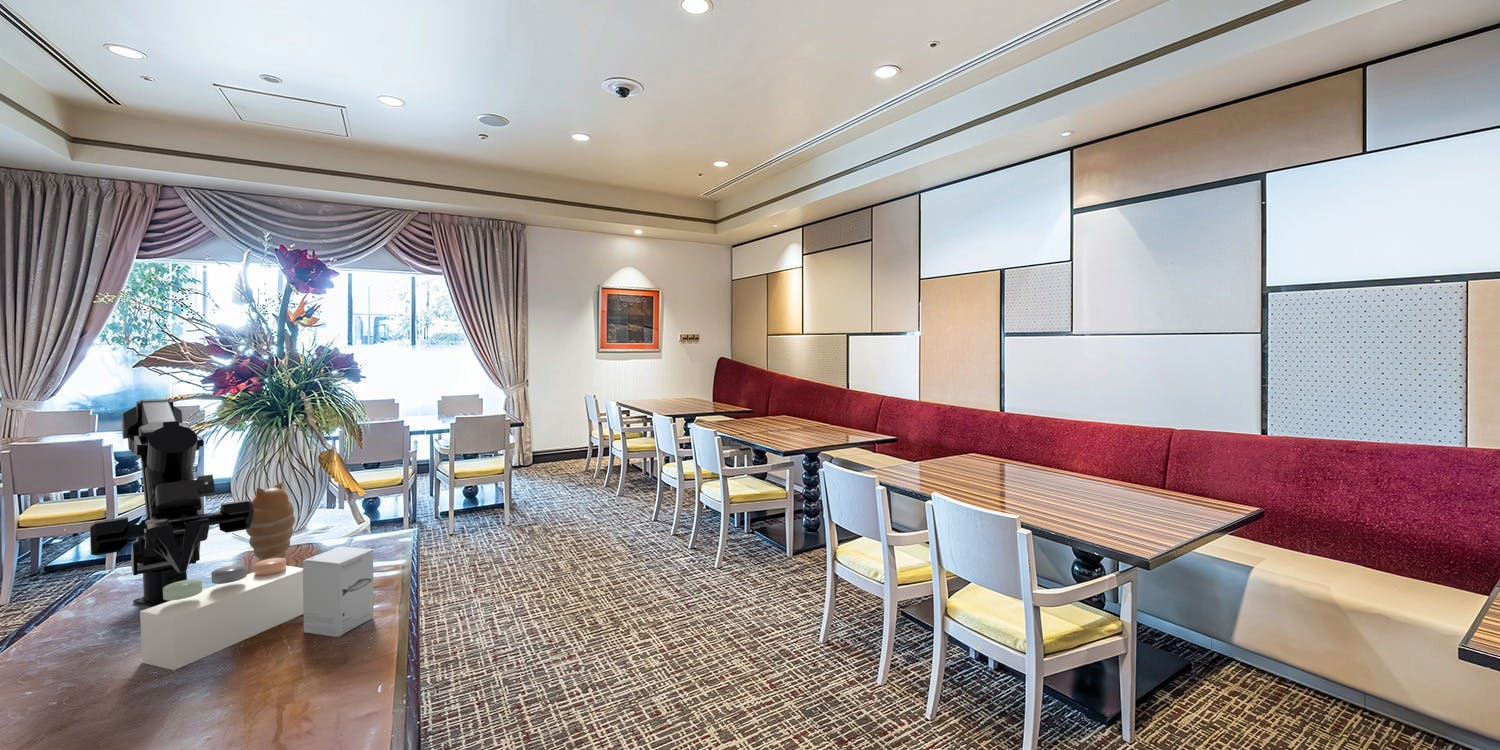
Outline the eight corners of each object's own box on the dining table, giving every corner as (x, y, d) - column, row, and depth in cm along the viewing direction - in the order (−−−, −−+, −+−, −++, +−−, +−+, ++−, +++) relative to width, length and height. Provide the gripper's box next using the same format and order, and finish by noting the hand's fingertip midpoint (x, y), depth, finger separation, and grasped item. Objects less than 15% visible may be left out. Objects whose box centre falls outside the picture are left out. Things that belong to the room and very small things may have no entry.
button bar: (141, 662, 90) (140, 611, 89) (278, 606, 109) (277, 564, 108) (174, 670, 88) (172, 617, 87) (307, 612, 107) (306, 568, 107)
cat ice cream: (277, 559, 132) (275, 479, 131) (306, 562, 130) (304, 481, 129) (235, 574, 123) (233, 489, 122) (266, 577, 122) (264, 491, 121)
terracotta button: (248, 573, 103) (247, 565, 103) (274, 564, 108) (274, 556, 107) (266, 576, 102) (266, 568, 102) (292, 567, 106) (292, 559, 106)
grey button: (204, 581, 97) (204, 572, 97) (234, 572, 101) (234, 563, 101) (224, 585, 96) (223, 576, 96) (253, 575, 100) (253, 566, 100)
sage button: (155, 598, 91) (155, 588, 91) (189, 586, 95) (189, 577, 95) (175, 602, 90) (175, 592, 89) (209, 590, 94) (208, 581, 94)
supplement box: (339, 638, 98) (337, 563, 97) (302, 633, 99) (300, 559, 99) (375, 618, 105) (374, 548, 105) (340, 613, 107) (339, 545, 106)
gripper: (87, 469, 88) (93, 561, 81) (250, 453, 102) (266, 530, 95) (88, 511, 93) (93, 600, 87) (242, 490, 107) (256, 565, 101)
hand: (182, 571), depth 92 cm, fingers closed
